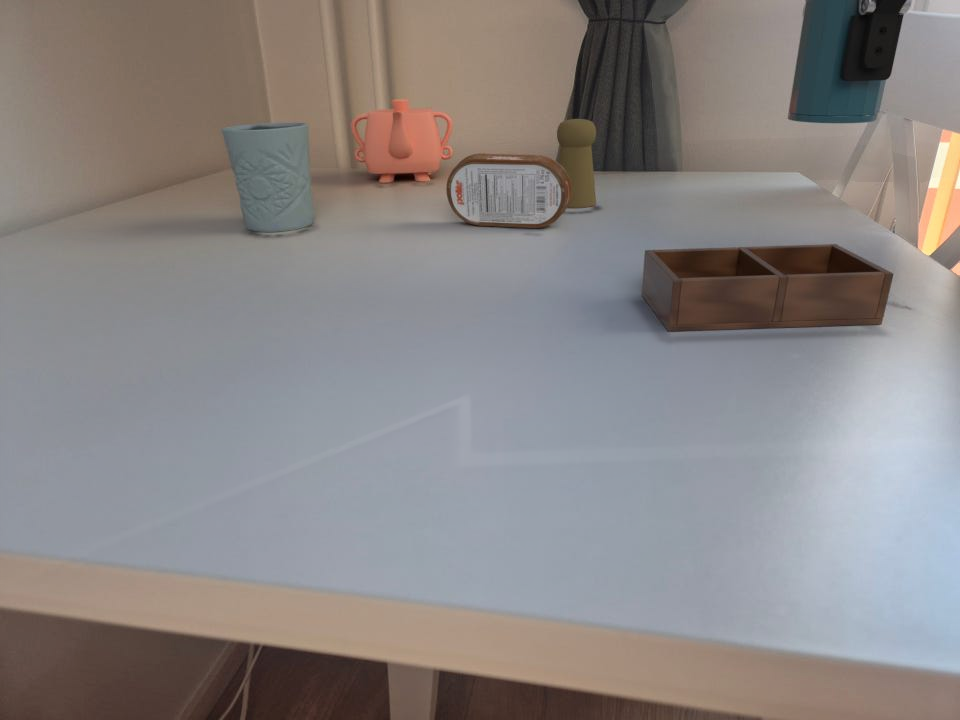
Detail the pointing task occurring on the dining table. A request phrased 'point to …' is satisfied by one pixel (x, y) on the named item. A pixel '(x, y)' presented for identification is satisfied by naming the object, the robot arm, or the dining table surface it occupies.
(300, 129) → the drinking glass
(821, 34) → the cup
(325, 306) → the dining table surface
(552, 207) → the tin
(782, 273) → the divided wooden box
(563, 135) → the pepper mill
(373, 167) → the teapot
